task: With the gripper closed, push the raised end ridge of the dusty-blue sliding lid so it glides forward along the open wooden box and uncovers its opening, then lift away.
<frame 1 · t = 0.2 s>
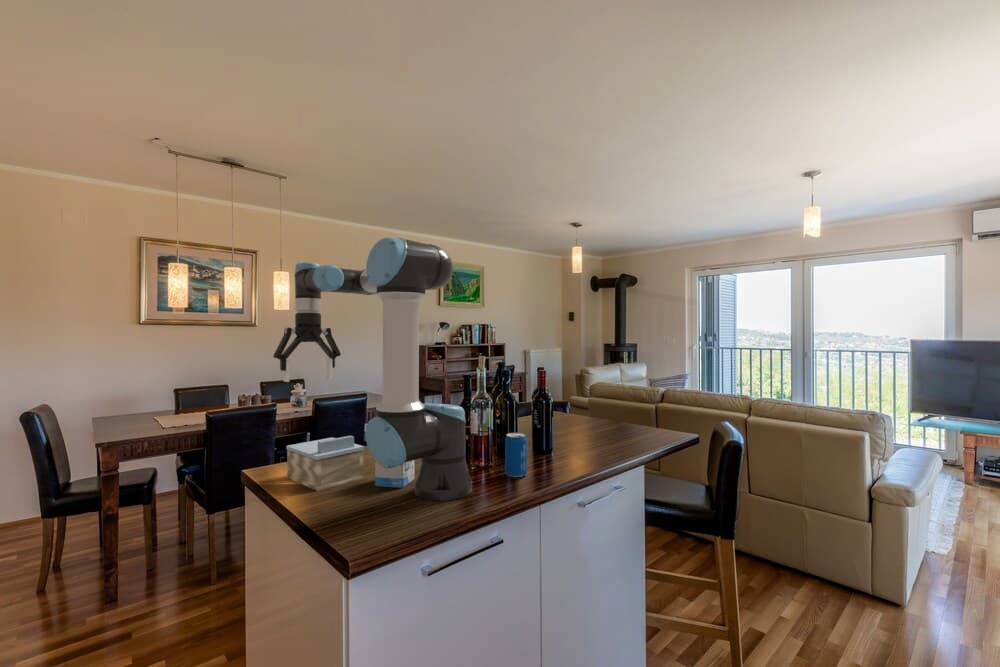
hand: (308, 380, 143), 28 cm above the table, fingers open, 13 cm apart
lid: (325, 442, 133), point 10 cm above the table, slide at 0.0 cm
beverage can: (516, 476, 134), on the table
ink box: (395, 483, 129), on the table
open wooden box: (325, 477, 133), on the table
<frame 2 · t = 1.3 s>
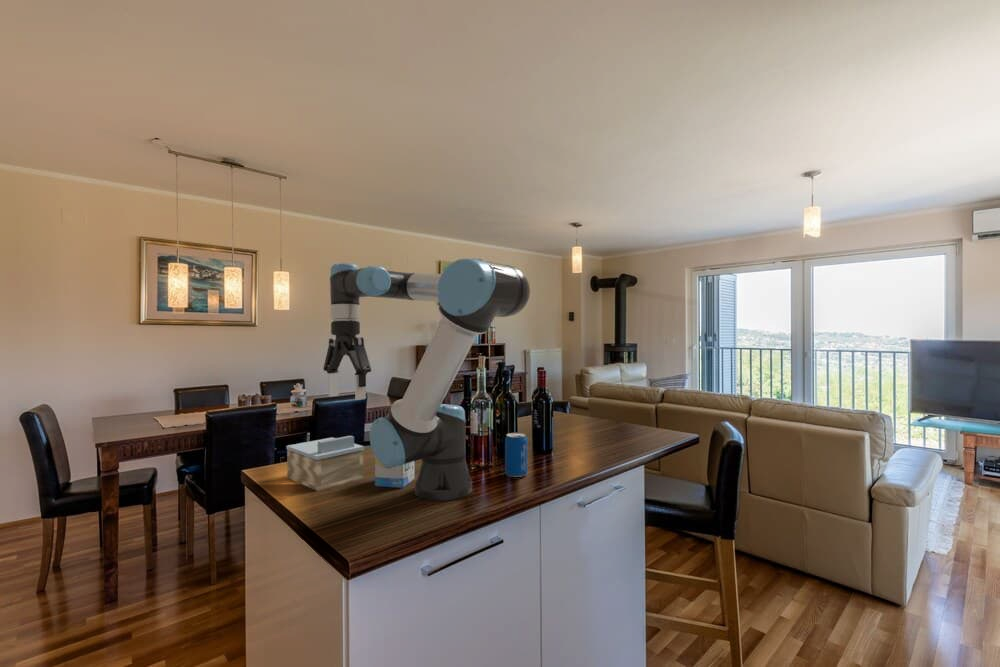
hand: (346, 397, 125), 24 cm above the table, fingers open, 13 cm apart
nothing on the table moved.
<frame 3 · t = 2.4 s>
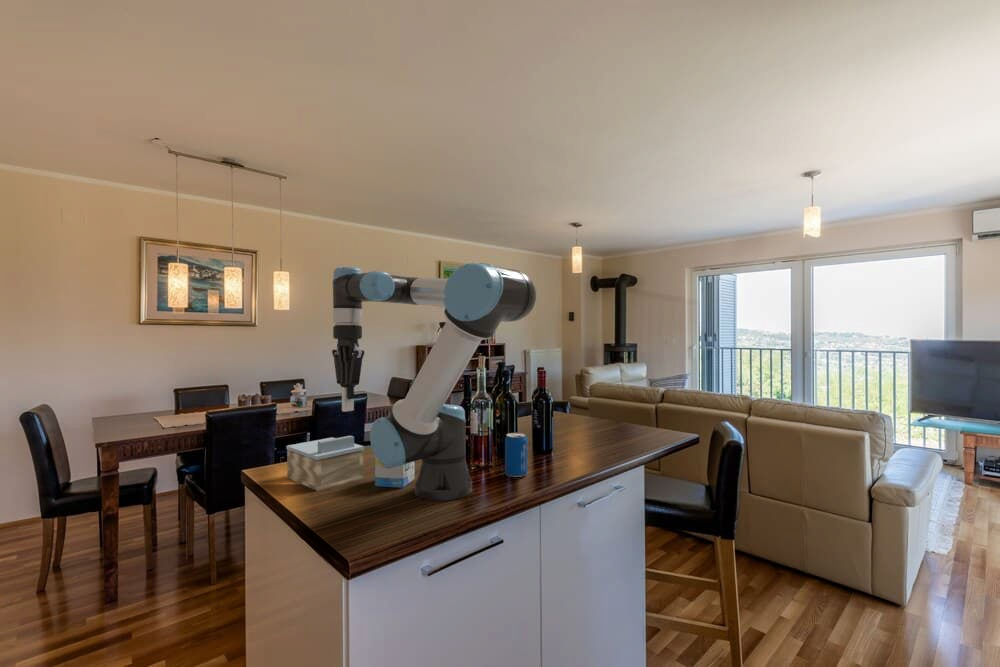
hand: (347, 410, 125), 21 cm above the table, fingers closed
nothing on the table moved.
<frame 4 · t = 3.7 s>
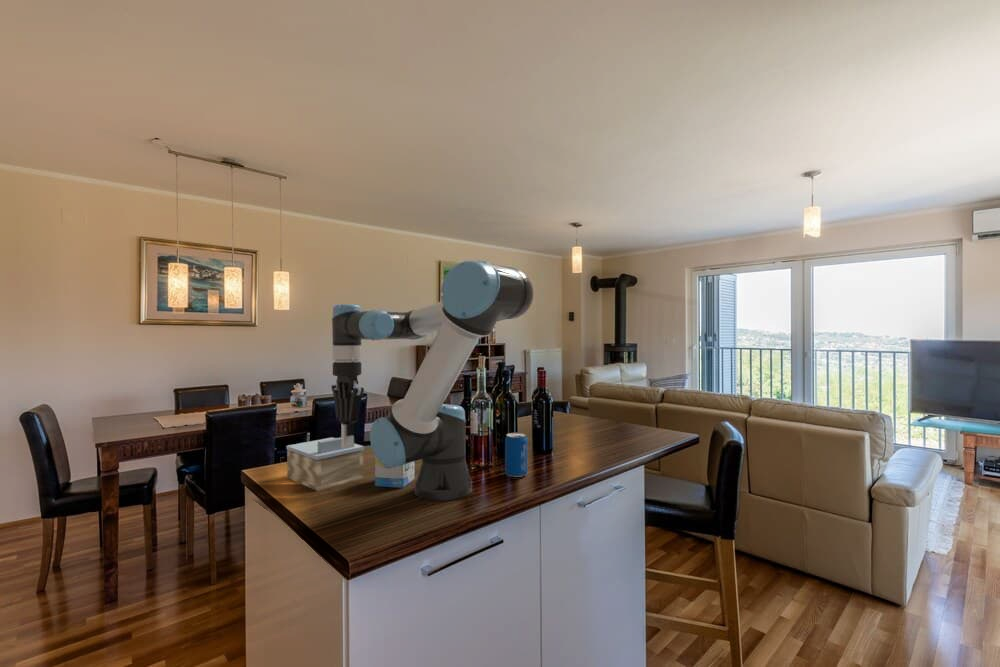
hand: (347, 447, 125), 11 cm above the table, fingers closed
nothing on the table moved.
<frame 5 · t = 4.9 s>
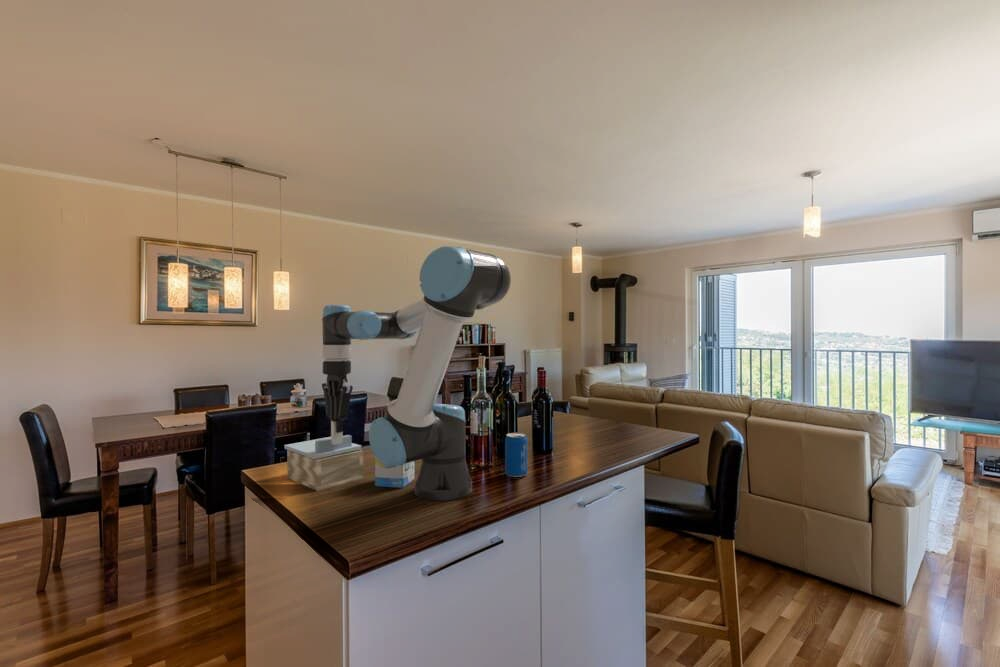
hand: (336, 443, 129), 11 cm above the table, fingers closed
lid: (322, 442, 134), point 10 cm above the table, slide at 1.4 cm, touching gripper
everything else where it was.
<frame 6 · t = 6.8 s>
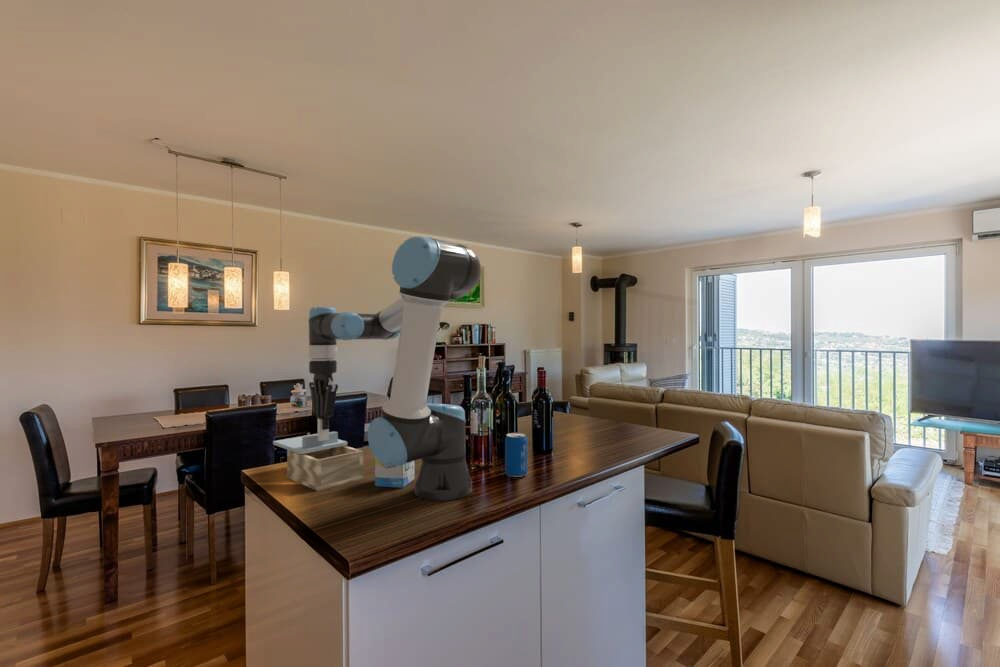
hand: (323, 440, 134), 11 cm above the table, fingers closed
lid: (310, 438, 139), point 10 cm above the table, slide at 9.2 cm, touching gripper
everything else where it was.
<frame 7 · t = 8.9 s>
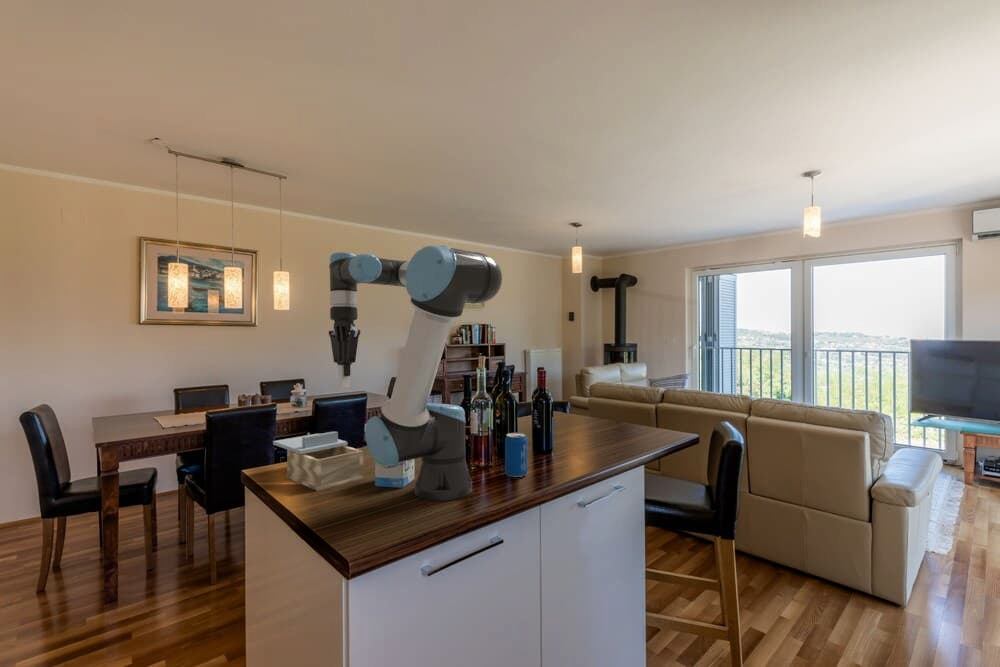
hand: (344, 387, 133), 26 cm above the table, fingers closed
lid: (310, 438, 139), point 10 cm above the table, slide at 9.2 cm
everything else where it was.
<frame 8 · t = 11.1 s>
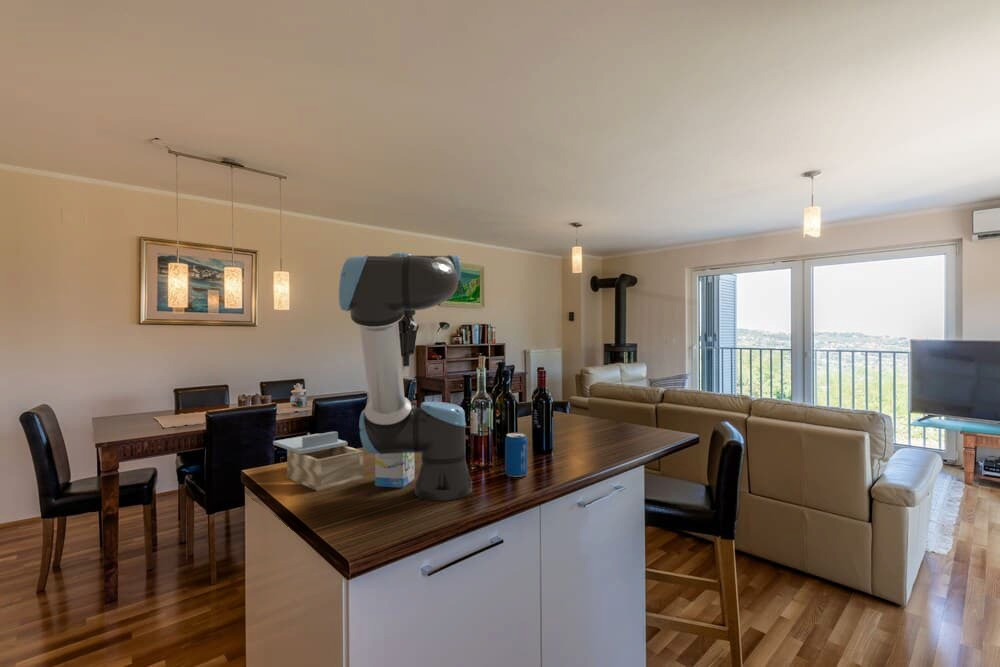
hand: (403, 376, 146), 28 cm above the table, fingers closed
nothing on the table moved.
at the end: lid slide at 9.2 cm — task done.
